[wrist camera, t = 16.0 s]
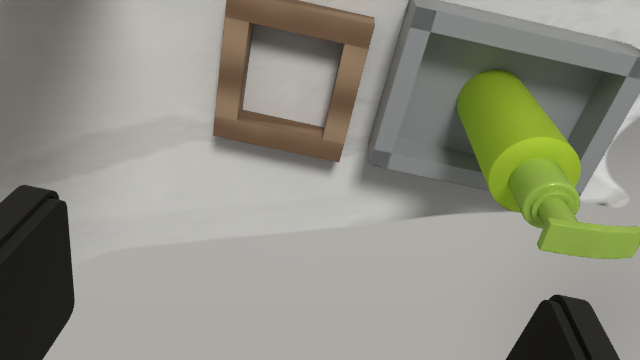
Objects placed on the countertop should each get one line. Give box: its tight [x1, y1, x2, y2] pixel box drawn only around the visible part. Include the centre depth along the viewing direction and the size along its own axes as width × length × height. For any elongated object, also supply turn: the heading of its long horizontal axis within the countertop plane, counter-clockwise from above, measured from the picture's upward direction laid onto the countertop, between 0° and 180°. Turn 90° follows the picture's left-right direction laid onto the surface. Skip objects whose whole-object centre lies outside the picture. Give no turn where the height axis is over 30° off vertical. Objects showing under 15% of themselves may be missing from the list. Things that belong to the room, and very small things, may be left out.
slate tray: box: [369, 0, 640, 197], centre depth 43 cm, size 14×19×4 cm
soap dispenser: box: [457, 70, 640, 259], centre depth 36 cm, size 6×7×20 cm
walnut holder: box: [213, 0, 375, 162], centre depth 44 cm, size 13×12×2 cm
